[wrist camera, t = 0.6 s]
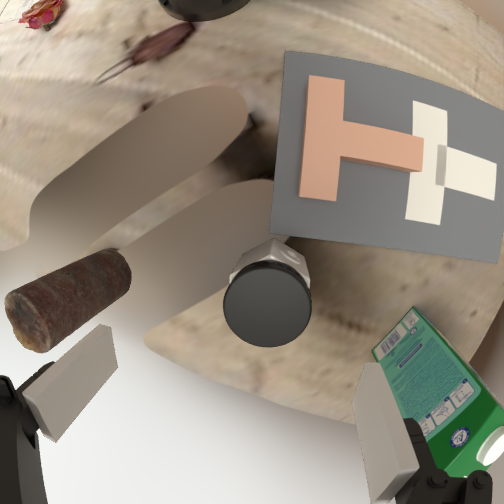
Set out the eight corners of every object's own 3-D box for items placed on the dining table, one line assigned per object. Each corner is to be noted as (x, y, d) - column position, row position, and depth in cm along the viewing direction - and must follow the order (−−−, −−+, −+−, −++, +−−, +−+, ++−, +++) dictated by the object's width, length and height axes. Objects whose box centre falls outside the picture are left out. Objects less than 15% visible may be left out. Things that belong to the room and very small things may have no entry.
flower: (57, 31, 31) (47, -2, 23) (20, 48, 30) (9, 18, 23) (76, 13, 34) (68, -16, 27) (41, 27, 34) (32, 1, 26)
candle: (137, 251, 39) (38, 301, 20) (137, 298, 41) (52, 369, 22) (95, 244, 40) (-5, 283, 21) (97, 289, 42) (8, 345, 22)
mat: (285, 52, 31) (285, 50, 31) (506, 114, 28) (508, 113, 27) (269, 232, 37) (268, 233, 36) (495, 262, 33) (497, 263, 33)
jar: (319, 264, 37) (334, 299, 25) (285, 313, 39) (283, 363, 27) (260, 226, 37) (247, 245, 25) (227, 278, 39) (203, 317, 27)
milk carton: (444, 335, 37) (528, 441, 13) (405, 376, 39) (461, 497, 15) (413, 305, 37) (510, 420, 12) (370, 351, 39) (425, 489, 14)
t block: (306, 86, 31) (309, 75, 28) (411, 106, 30) (424, 99, 26) (297, 195, 35) (299, 196, 31) (404, 211, 33) (417, 214, 30)
